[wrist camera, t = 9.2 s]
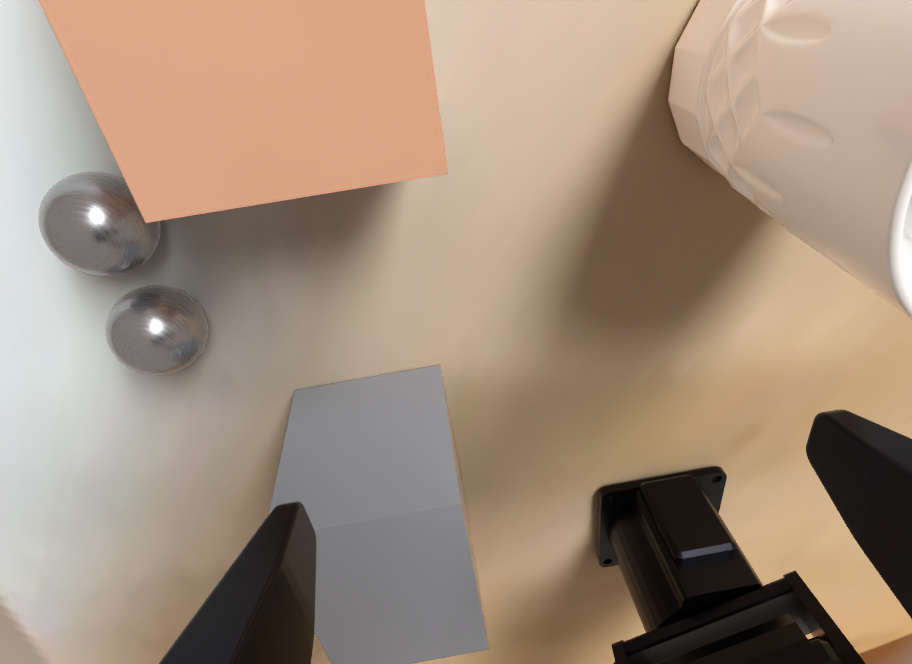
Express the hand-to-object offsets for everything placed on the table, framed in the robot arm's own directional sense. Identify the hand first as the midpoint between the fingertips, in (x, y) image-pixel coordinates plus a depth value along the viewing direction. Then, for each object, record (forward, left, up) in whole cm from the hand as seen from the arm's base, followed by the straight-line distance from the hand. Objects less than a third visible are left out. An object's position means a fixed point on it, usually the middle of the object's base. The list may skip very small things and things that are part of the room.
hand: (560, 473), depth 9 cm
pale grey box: (-10, +5, -11) cm, 16 cm away
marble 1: (+3, +11, -11) cm, 16 cm away
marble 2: (-1, +11, -11) cm, 16 cm away
